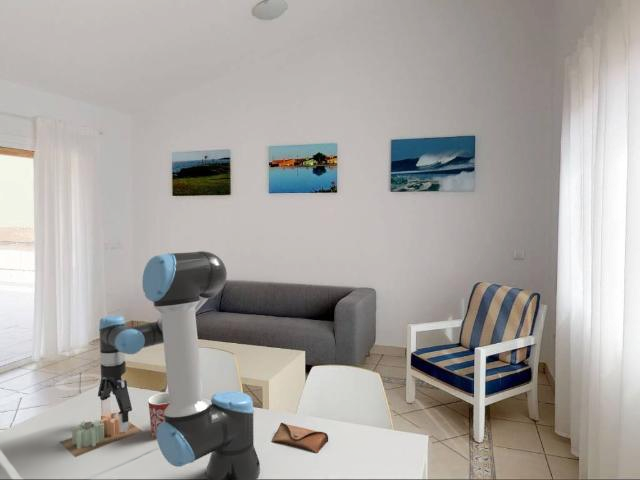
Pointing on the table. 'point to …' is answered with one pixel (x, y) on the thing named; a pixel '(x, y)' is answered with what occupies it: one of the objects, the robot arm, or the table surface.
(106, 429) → the gear
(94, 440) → the gear
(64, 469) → the table surface
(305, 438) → the sunglasses case
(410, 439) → the table surface
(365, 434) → the table surface
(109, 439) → the gear board
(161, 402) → the mug
